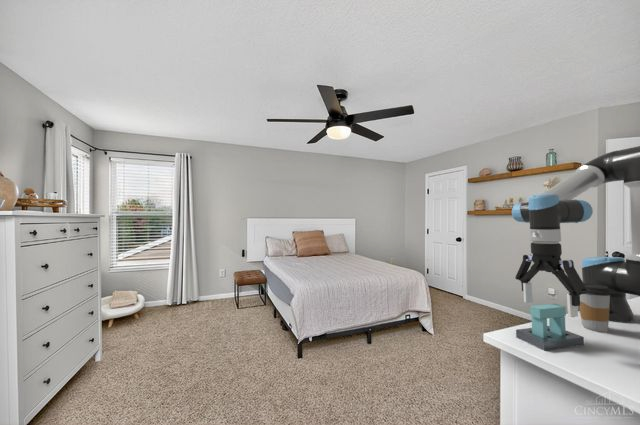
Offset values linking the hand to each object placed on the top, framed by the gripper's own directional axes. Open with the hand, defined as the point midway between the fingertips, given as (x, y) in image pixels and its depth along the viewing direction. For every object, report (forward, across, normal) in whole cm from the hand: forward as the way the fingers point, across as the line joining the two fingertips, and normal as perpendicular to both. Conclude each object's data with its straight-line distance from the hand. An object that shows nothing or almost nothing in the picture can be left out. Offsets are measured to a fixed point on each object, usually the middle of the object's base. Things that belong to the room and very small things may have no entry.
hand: (548, 308), depth 84 cm
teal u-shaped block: (+10, 0, -1) cm, 10 cm away
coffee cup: (+11, -4, +24) cm, 27 cm away
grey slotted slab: (+10, 0, -1) cm, 10 cm away
